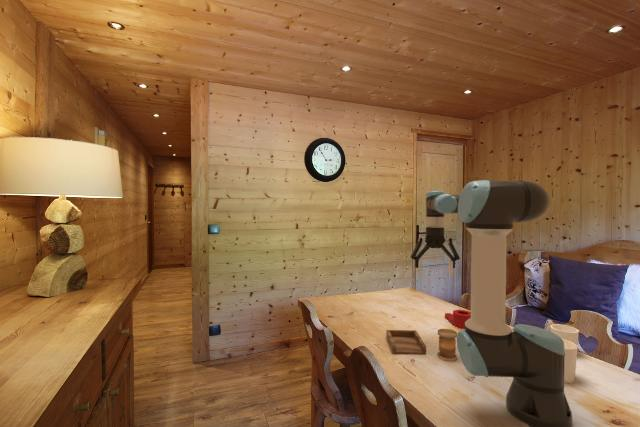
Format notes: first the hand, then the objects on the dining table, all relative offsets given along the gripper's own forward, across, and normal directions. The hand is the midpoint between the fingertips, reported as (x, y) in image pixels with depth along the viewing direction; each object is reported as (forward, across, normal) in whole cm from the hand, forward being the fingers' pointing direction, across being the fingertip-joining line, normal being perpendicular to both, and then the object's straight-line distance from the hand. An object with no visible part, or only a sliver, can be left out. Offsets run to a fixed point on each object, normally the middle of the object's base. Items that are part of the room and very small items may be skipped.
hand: (434, 275), depth 138 cm
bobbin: (+29, -1, +15) cm, 32 cm away
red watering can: (+29, -18, -24) cm, 42 cm away
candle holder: (+29, -34, +28) cm, 52 cm away
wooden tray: (+29, +14, +5) cm, 32 cm away
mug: (+29, -49, +8) cm, 57 cm away
